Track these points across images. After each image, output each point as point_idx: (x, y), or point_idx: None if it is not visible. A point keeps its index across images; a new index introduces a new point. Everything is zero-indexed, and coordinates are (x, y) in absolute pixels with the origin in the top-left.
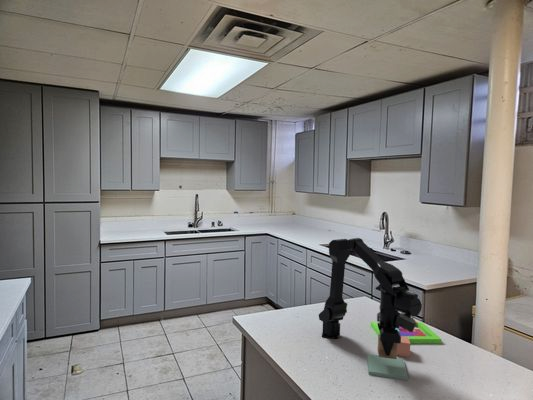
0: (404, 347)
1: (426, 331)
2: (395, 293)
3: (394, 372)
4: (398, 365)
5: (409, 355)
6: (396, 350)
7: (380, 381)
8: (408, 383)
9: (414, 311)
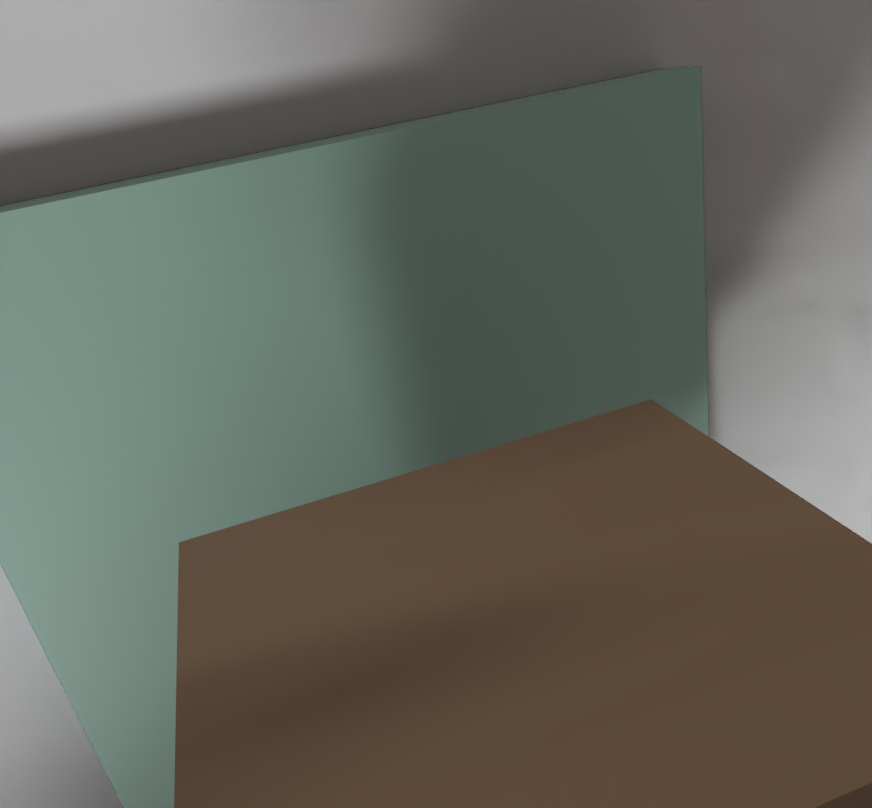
0: None
1: None
2: None
3: (626, 329)
4: (308, 301)
5: None
6: (834, 535)
7: (808, 457)
8: (761, 49)
9: None
